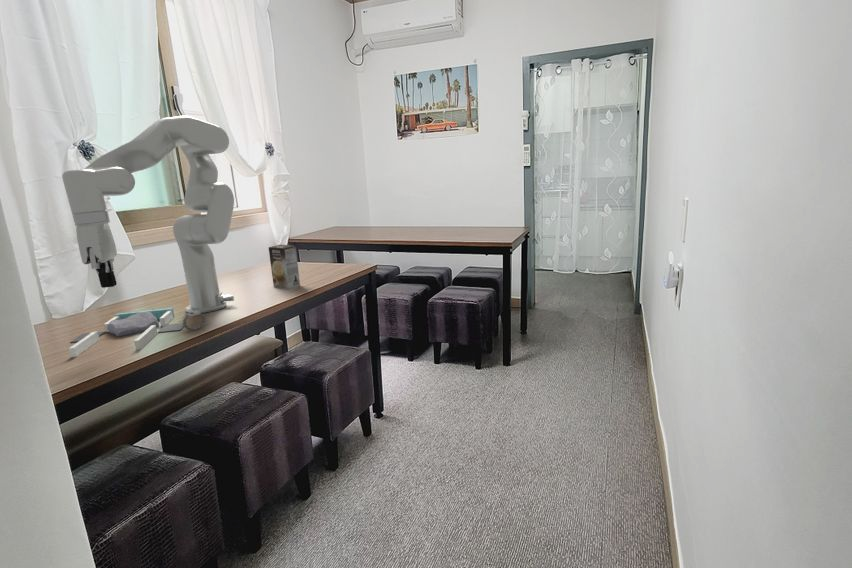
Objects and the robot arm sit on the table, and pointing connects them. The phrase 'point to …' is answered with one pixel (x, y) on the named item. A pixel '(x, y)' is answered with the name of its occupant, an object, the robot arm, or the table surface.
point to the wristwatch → (191, 316)
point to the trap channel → (165, 317)
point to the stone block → (133, 324)
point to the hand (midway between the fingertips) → (109, 286)
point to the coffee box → (284, 266)
